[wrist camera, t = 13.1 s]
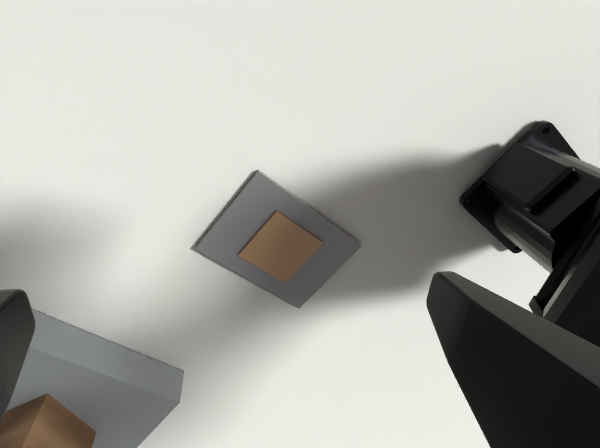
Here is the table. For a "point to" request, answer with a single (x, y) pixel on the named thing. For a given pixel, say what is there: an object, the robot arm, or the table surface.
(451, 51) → the table surface
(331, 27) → the table surface
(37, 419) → the walnut pillar
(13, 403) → the slate slab
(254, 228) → the card
